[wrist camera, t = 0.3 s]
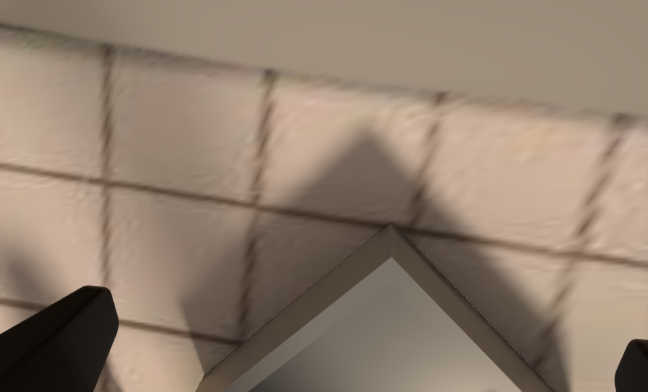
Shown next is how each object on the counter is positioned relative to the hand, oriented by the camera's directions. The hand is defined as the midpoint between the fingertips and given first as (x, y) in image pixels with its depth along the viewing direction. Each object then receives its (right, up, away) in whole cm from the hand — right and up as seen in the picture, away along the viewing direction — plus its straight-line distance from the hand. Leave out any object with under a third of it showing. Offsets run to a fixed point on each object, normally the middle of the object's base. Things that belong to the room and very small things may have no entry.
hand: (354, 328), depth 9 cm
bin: (+3, -8, +18) cm, 20 cm away
